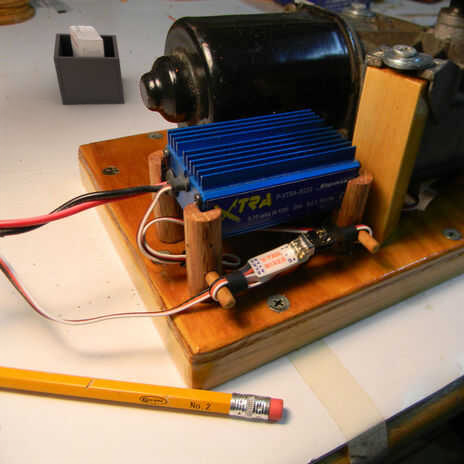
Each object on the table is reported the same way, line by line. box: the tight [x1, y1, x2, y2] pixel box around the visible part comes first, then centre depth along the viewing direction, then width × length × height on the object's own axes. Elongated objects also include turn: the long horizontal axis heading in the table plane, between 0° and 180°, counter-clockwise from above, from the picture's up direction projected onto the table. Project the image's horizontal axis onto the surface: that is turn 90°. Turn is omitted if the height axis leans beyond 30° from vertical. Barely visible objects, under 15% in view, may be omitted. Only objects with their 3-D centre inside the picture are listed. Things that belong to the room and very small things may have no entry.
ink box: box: [68, 25, 105, 57], centre depth 101 cm, size 9×5×12 cm, turn 33°
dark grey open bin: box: [53, 32, 125, 105], centre depth 102 cm, size 12×14×10 cm
